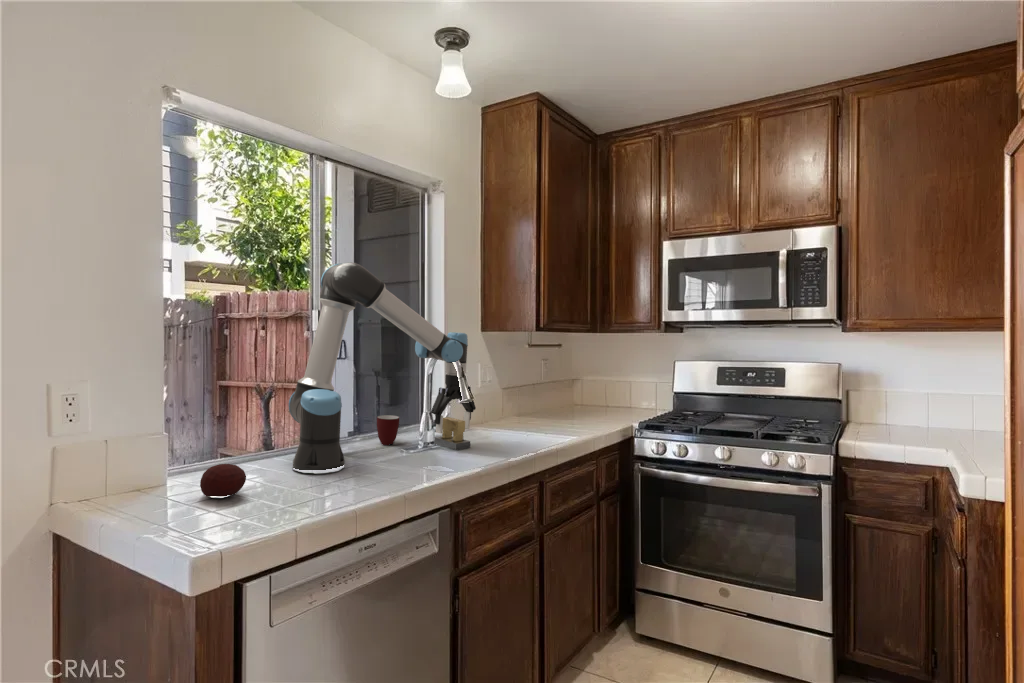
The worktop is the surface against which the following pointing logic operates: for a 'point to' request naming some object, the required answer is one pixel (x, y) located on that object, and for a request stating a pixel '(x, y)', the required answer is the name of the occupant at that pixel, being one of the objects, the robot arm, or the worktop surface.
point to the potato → (222, 480)
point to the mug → (387, 428)
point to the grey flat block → (452, 443)
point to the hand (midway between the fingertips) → (452, 430)
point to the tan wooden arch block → (453, 429)
